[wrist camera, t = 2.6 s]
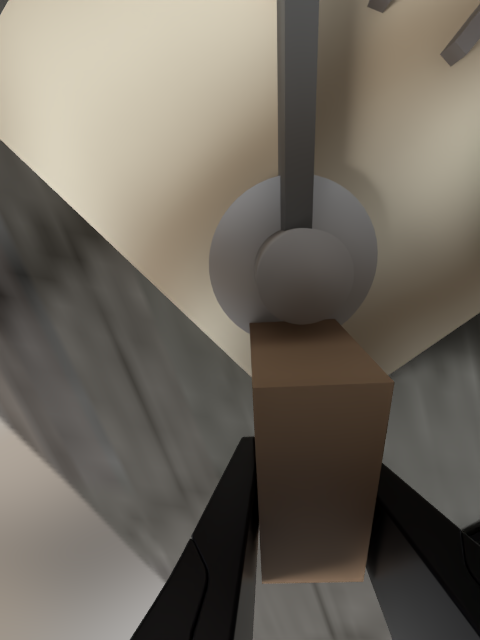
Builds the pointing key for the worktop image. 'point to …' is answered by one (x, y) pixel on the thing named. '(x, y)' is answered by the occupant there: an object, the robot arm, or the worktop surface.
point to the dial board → (258, 140)
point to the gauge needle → (305, 337)
